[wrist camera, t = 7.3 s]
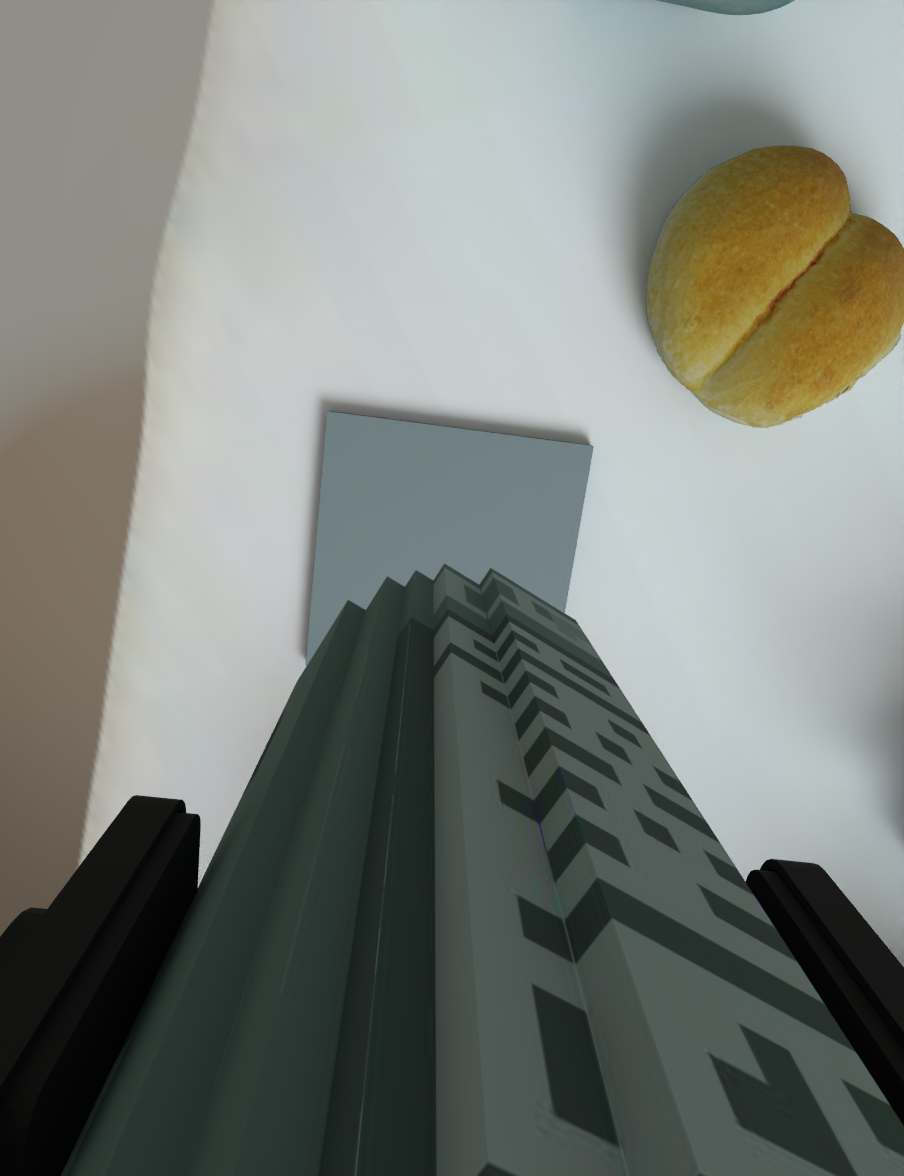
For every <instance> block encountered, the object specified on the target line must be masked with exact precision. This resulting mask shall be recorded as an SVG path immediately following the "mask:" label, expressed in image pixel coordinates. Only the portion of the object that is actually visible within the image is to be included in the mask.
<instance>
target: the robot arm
mask: <svg viewBox="0 0 904 1176" xmlns="http://www.w3.org/2000/svg"><path fill="white" fill-rule="evenodd" d="M199 847H200V816H199V815H198V814H189V813H186V806H185V802H184V801H183V800H178V799H168V798H158V797H148V796H138V795H136V796H133V797H132V798H131V799H130V800H129V801H128V802H127V803H126V805H125V806H124V807H123V809H122V810H121V811H120V813H119V814H118V815H117V817H116V818H115V819H114V821H113V822H112V823H111V825H110V826H109V827H108V829H107V830H106V831H105V833H104V834H103V835H102V837H101V838H100V839H99V841H98V842H97V843H96V845H95V846H94V847H93V849H92V850H91V851H90V853H89V854H88V855H87V857H86V858H85V859H84V861H83V862H82V864H81V865H80V866H79V868H78V869H77V870H76V872H75V873H74V874H73V876H72V877H71V878H70V880H69V881H68V882H67V884H66V885H65V886H64V888H63V889H62V890H61V892H60V893H59V894H58V896H57V897H56V898H55V900H54V901H53V902H52V904H51V905H50V907H49V908H48V909H41V908H30V909H27V910H25V911H23V912H21V914H20V915H19V916H17V918H16V919H15V920H14V921H13V922H12V923H11V924H10V925H9V926H8V928H7V929H6V930H5V932H4V933H3V934H2V935H1V937H0V1176H60V1175H61V1173H62V1171H63V1169H64V1167H65V1165H66V1163H67V1161H68V1159H69V1157H70V1155H71V1153H72V1150H73V1148H74V1146H75V1144H76V1142H77V1140H78V1138H79V1136H80V1134H81V1132H82V1130H83V1127H84V1125H85V1123H86V1121H87V1119H88V1117H89V1115H90V1113H91V1111H92V1109H93V1107H94V1105H95V1102H96V1100H97V1098H98V1096H99V1094H100V1092H101V1090H102V1088H103V1086H104V1084H105V1082H106V1080H107V1077H108V1075H109V1073H110V1071H111V1069H112V1067H113V1065H114V1063H115V1061H116V1059H117V1057H118V1054H119V1052H120V1050H121V1048H122V1046H123V1044H124V1042H125V1040H126V1038H127V1036H128V1034H129V1032H130V1029H131V1027H132V1025H133V1023H134V1021H135V1019H136V1017H137V1015H138V1013H139V1011H140V1009H141V1007H142V1004H143V1002H144V1000H145V998H146V996H147V994H148V992H149V990H150V988H151V986H152V984H153V981H154V979H155V977H156V975H157V973H158V971H159V969H160V967H161V965H162V963H163V961H164V959H165V956H166V954H167V952H168V950H169V948H170V946H171V944H172V942H173V940H174V938H175V936H176V934H177V931H178V929H179V927H180V925H181V923H182V921H183V919H184V917H185V915H186V913H187V911H188V908H189V906H190V904H191V902H192V900H193V898H194V896H195V894H196V892H197V887H198V867H199ZM746 884H747V885H748V887H749V888H750V890H751V891H752V893H753V895H754V896H755V898H756V899H757V901H758V902H759V904H760V905H761V907H762V908H763V910H764V911H765V913H766V915H767V916H768V918H769V919H770V921H771V922H772V924H773V925H774V927H775V928H776V930H777V932H778V933H779V935H780V936H781V938H782V939H783V941H784V942H785V944H786V945H787V947H788V948H789V950H790V952H791V953H792V955H793V956H794V958H795V959H796V961H797V962H798V964H799V965H800V967H801V969H802V970H803V972H804V973H805V975H806V976H807V978H808V979H809V981H810V982H811V984H812V985H813V987H814V989H815V990H816V992H817V993H818V995H819V996H820V998H821V999H822V1001H823V1002H824V1004H825V1005H826V1007H827V1009H828V1010H829V1012H830V1013H831V1015H832V1016H833V1018H834V1019H835V1021H836V1022H837V1024H838V1026H839V1027H840V1029H841V1030H842V1032H843V1033H844V1035H845V1036H846V1038H847V1039H848V1041H849V1042H850V1044H851V1046H852V1047H853V1049H854V1050H855V1052H856V1053H857V1055H858V1056H859V1058H860V1059H861V1061H862V1063H863V1064H864V1066H865V1067H866V1069H867V1070H868V1072H869V1073H870V1075H871V1076H872V1078H873V1079H874V1081H875V1083H876V1084H877V1086H878V1087H879V1089H880V1090H881V1092H882V1093H883V1095H884V1096H885V1098H886V1100H887V1101H888V1103H889V1104H890V1106H891V1107H892V1109H893V1110H894V1112H895V1113H896V1115H897V1116H898V1118H899V1120H900V1121H901V1123H902V1124H903V1126H904V967H903V966H902V965H901V963H900V962H899V961H898V960H897V958H896V957H895V956H894V955H893V954H892V952H891V951H890V950H889V949H888V947H887V946H886V945H885V944H884V942H883V941H882V940H881V939H880V938H879V936H878V935H877V934H876V933H875V931H874V930H873V929H872V928H871V927H870V925H869V924H868V923H867V922H866V920H865V919H864V918H863V917H862V916H861V914H860V913H859V912H858V911H857V909H856V908H855V907H854V906H853V905H852V903H851V902H850V901H849V900H848V898H847V897H846V896H845V895H844V894H843V892H842V891H841V890H840V889H839V887H838V886H837V885H836V884H835V883H834V881H833V880H832V879H831V878H830V876H829V875H828V874H827V873H826V872H825V870H824V869H823V868H821V867H820V866H819V865H817V864H814V863H806V862H796V861H786V860H776V859H770V860H767V861H765V863H764V864H763V865H762V866H761V869H760V870H753V871H751V872H750V873H749V875H748V877H747V880H746Z"/></svg>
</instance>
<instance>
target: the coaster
mask: <svg viewBox="0 0 904 1176" xmlns="http://www.w3.org/2000/svg"><path fill="white" fill-rule="evenodd" d="M592 452H593V446H592V445H585V444H577V443H569V442H562V441H554V440H546V439H539V438H531V437H523V436H516V435H508V434H500V433H493V432H485V431H477V430H470V429H462V428H454V427H447V426H439V425H431V424H424V423H416V422H408V421H401V420H393V419H386V418H378V417H370V416H363V415H355V414H347V413H340V412H332V411H327V416H326V428H325V440H324V452H323V464H322V476H321V488H320V500H319V512H318V523H317V535H316V547H315V559H314V571H313V583H312V595H311V607H310V619H309V631H308V643H307V654H306V665H308V663H309V662H310V660H311V658H312V657H313V655H314V654H315V652H316V650H317V649H318V647H319V646H320V644H321V642H322V641H323V639H324V638H325V636H326V634H327V633H328V631H329V629H330V628H331V626H332V625H333V623H334V621H335V620H336V618H337V617H338V615H339V613H340V612H341V610H342V609H343V607H344V605H345V604H346V602H347V600H350V601H351V602H353V603H355V604H356V605H358V606H360V607H361V608H363V609H365V610H366V609H367V607H368V606H369V604H370V603H371V601H372V599H373V598H374V596H375V595H376V593H377V592H378V590H379V588H380V587H381V585H382V584H383V582H384V580H385V579H386V577H387V576H388V577H389V578H391V579H393V580H394V581H396V582H398V583H399V584H401V585H403V586H404V587H405V586H406V584H407V583H408V581H409V580H410V578H411V576H412V575H413V573H414V572H415V570H417V571H419V572H420V573H422V574H424V575H425V576H427V577H429V578H430V579H432V580H434V579H435V577H436V576H437V574H438V573H439V571H440V569H441V568H442V566H443V565H444V563H445V564H446V565H448V566H450V567H451V568H453V569H455V570H456V571H458V572H459V573H461V574H463V575H464V576H466V577H468V578H469V579H471V580H472V581H474V582H476V583H477V584H480V583H481V581H482V580H483V578H484V577H485V575H486V574H487V572H488V571H489V569H490V568H492V569H494V570H495V571H497V572H498V573H500V574H502V575H503V576H505V577H507V578H508V579H510V580H511V581H513V582H515V583H516V584H518V585H519V586H521V587H523V588H524V589H526V590H528V591H529V592H531V593H532V594H534V595H536V596H537V597H539V598H540V599H542V600H544V601H545V602H547V603H549V604H550V605H552V606H553V607H555V608H557V609H558V610H560V611H561V612H563V613H565V607H566V601H567V596H568V590H569V584H570V578H571V573H572V567H573V561H574V555H575V550H576V544H577V538H578V532H579V527H580V521H581V515H582V509H583V504H584V498H585V492H586V486H587V481H588V475H589V469H590V463H591V458H592Z"/></svg>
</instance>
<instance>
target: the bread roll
mask: <svg viewBox="0 0 904 1176" xmlns="http://www.w3.org/2000/svg"><path fill="white" fill-rule="evenodd" d="M849 202H850V197H849V191H848V186H847V181H846V177H845V175H844V173H843V172H842V170H841V169H840V167H839V166H838V165H837V164H836V163H835V162H834V161H833V160H832V159H831V158H829V157H828V156H826V155H825V154H823V153H821V152H819V151H816V150H814V149H811V148H803V147H796V146H773V147H765V148H759V149H754V150H752V151H749V152H747V153H745V154H742V155H740V156H738V157H735V158H733V159H730V160H728V161H726V162H724V163H722V164H720V165H718V166H716V167H714V168H712V169H711V170H709V171H708V172H707V173H705V174H704V175H703V176H701V177H700V178H699V179H698V180H697V181H696V182H695V183H694V184H693V185H692V187H690V188H689V189H688V190H687V191H686V192H685V193H684V194H683V196H682V197H681V198H680V199H679V201H678V202H677V203H676V204H675V206H674V207H673V208H672V210H671V212H670V214H669V215H668V217H667V219H666V220H665V222H664V225H663V228H662V231H661V234H660V236H659V238H658V241H657V245H656V247H655V250H654V252H653V255H652V259H651V263H650V268H649V272H648V277H647V292H646V305H647V317H648V323H649V327H650V330H651V334H652V337H653V339H654V342H655V344H656V347H657V351H658V353H659V355H660V357H662V361H663V362H664V363H665V365H666V367H667V369H668V370H669V372H670V373H671V374H672V376H673V377H675V378H676V379H677V380H678V381H679V382H680V383H681V384H683V385H684V386H685V387H686V388H687V389H689V390H691V392H692V393H693V394H694V395H695V396H696V397H697V399H698V400H699V401H700V402H701V403H702V404H703V405H704V406H706V407H707V408H708V409H710V410H711V411H712V412H714V413H716V414H718V415H720V416H722V417H724V418H727V419H729V420H731V421H733V422H736V423H739V424H743V425H747V426H751V427H756V428H768V427H772V426H776V425H780V424H783V423H785V422H787V421H791V420H793V419H795V418H801V417H802V416H803V414H805V413H807V412H809V411H812V410H814V409H816V408H817V407H820V406H822V405H823V404H825V403H828V402H830V401H832V400H834V399H836V398H838V397H839V396H840V395H841V394H843V393H845V392H847V391H849V390H851V388H852V387H853V386H854V384H855V383H856V381H857V380H858V379H859V378H861V377H863V376H865V375H866V374H867V373H868V372H869V371H870V370H871V369H872V368H873V367H875V366H876V365H877V363H878V362H879V361H881V360H882V359H883V358H884V357H886V356H887V355H888V354H889V353H890V352H891V351H892V350H893V349H894V347H895V346H896V345H897V343H898V342H899V340H900V338H901V328H902V325H903V323H904V248H903V246H902V244H901V243H900V241H899V240H898V238H897V237H896V236H895V235H894V233H892V232H891V231H890V230H889V229H888V228H886V227H885V226H883V225H882V224H880V223H878V222H877V221H875V220H873V219H871V218H869V217H866V216H861V215H857V214H852V213H851V206H850V203H849Z"/></svg>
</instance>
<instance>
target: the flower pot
mask: <svg viewBox="0 0 904 1176" xmlns="http://www.w3.org/2000/svg"><path fill="white" fill-rule="evenodd" d="M658 1H663V2H668V3H672V4H677V5H682V6H687V7H691V8H695V9H699V10H704V11H708V12H714V13H720V14H728V15H750V14H759V13H763V12H768V11H771V10H774V9H777V8H780V7H782V6H784V5H787V4H789V3H791V2H792V1H794V0H658Z"/></svg>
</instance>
